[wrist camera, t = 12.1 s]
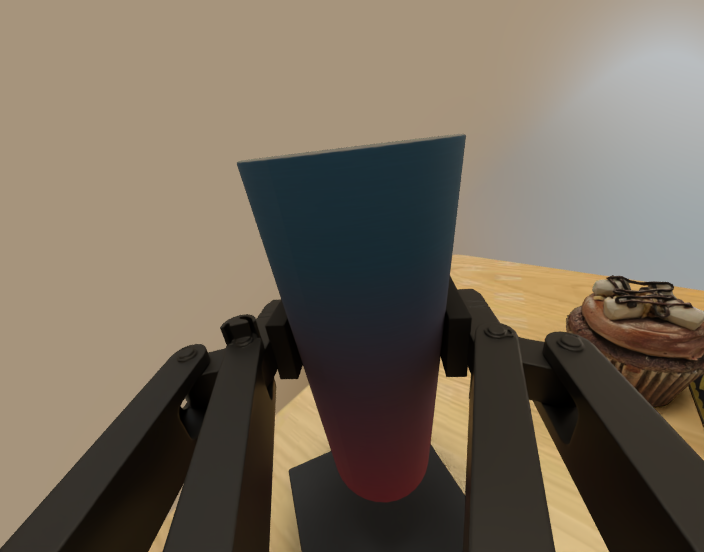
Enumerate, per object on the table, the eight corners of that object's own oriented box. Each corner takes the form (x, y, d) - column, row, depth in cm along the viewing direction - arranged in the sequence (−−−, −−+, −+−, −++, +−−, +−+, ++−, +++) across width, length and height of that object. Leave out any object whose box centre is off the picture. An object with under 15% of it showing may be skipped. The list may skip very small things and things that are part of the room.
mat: (330, 719, 12) (327, 714, 12) (290, 476, 22) (288, 469, 21) (517, 583, 16) (520, 576, 15) (411, 422, 25) (411, 415, 25)
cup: (359, 383, 19) (328, 149, 13) (461, 425, 16) (487, 130, 9) (292, 475, 14) (187, 167, 8) (418, 567, 11) (409, 141, 4)
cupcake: (723, 427, 22) (797, 322, 17) (575, 404, 25) (607, 310, 21) (650, 347, 30) (688, 262, 26) (545, 337, 33) (563, 259, 29)
